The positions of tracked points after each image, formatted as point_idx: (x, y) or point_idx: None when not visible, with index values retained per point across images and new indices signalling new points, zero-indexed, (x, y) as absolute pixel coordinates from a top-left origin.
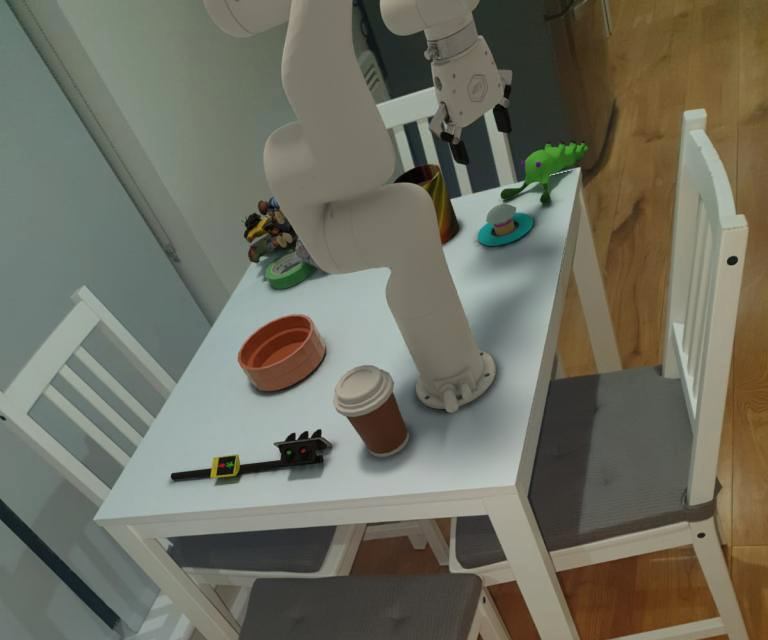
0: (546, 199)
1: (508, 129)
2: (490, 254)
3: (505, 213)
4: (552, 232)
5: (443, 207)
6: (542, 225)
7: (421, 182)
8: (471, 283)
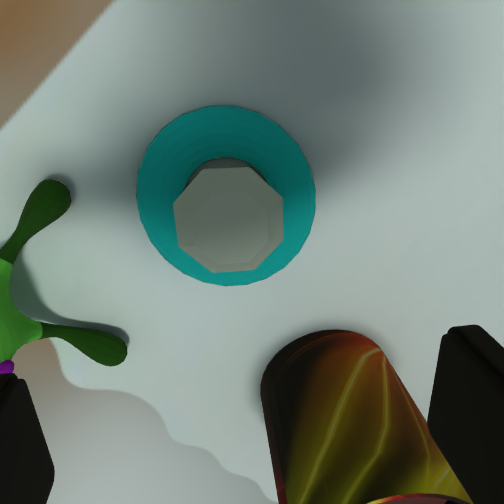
0: (53, 181)
1: (4, 393)
2: (337, 140)
3: (235, 187)
4: (152, 14)
5: (341, 399)
6: (143, 97)
7: None
8: (479, 61)
